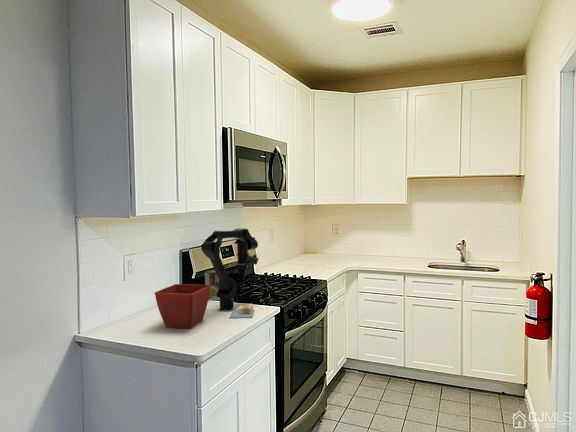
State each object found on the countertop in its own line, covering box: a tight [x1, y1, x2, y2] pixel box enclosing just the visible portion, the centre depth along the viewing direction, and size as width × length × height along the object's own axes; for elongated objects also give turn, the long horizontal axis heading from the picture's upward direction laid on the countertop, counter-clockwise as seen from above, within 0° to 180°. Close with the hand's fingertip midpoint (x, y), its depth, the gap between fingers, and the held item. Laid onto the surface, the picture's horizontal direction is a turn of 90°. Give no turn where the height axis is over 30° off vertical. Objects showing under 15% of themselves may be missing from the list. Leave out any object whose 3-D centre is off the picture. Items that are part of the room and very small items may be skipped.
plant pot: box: [154, 283, 210, 329], centre depth 196 cm, size 19×19×17 cm
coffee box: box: [204, 270, 220, 301], centre depth 242 cm, size 9×6×16 cm
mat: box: [229, 309, 255, 319], centre depth 210 cm, size 11×12×1 cm
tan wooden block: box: [238, 303, 254, 314], centre depth 213 cm, size 6×3×9 cm
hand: (243, 279), depth 232 cm, fingers closed
